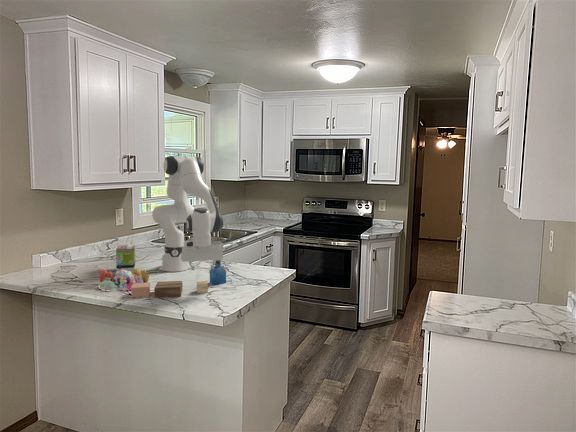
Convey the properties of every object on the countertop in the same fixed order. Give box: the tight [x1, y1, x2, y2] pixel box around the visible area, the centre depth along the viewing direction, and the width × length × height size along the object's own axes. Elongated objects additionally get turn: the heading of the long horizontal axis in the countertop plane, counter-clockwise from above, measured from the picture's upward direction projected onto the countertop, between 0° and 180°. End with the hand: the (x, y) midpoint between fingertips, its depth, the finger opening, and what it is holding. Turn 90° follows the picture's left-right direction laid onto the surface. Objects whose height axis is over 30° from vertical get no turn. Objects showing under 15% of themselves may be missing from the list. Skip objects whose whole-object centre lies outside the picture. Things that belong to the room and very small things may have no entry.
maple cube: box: [196, 280, 209, 294], centre depth 220 cm, size 5×5×5 cm
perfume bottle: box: [209, 260, 227, 286], centre depth 237 cm, size 6×6×12 cm
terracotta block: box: [130, 282, 151, 298], centre depth 214 cm, size 8×8×5 cm
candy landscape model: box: [99, 268, 150, 292], centre depth 230 cm, size 25×24×9 cm
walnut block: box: [154, 280, 184, 299], centre depth 217 cm, size 12×12×5 cm
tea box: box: [115, 244, 136, 274], centre depth 261 cm, size 15×10×15 cm, turn 16°
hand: (202, 269), depth 219 cm, fingers open, 8 cm apart
